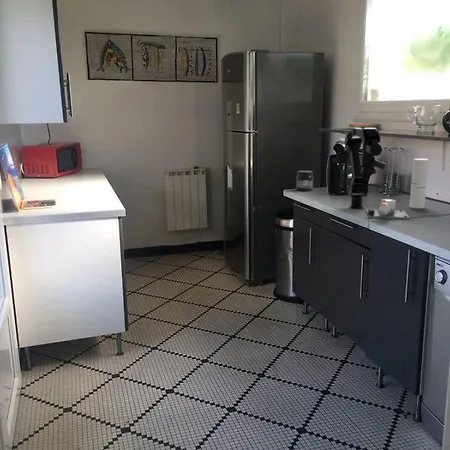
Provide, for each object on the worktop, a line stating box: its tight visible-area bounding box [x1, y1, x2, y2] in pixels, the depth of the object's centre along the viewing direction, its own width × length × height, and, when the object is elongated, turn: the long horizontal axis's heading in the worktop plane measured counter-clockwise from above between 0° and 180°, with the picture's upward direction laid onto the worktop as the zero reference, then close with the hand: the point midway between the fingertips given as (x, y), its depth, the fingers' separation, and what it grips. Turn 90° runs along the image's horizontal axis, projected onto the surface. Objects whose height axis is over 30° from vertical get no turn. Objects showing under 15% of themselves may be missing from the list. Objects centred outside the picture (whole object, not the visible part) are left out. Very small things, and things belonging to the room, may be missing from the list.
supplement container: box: [295, 170, 314, 192], centre depth 308 cm, size 10×10×12 cm
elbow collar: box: [377, 198, 397, 216], centre depth 230 cm, size 16×7×6 cm, turn 153°
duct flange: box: [365, 208, 410, 220], centre depth 234 cm, size 16×18×3 cm
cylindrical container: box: [409, 158, 430, 210], centre depth 252 cm, size 7×7×25 cm
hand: (366, 186), depth 239 cm, fingers closed
